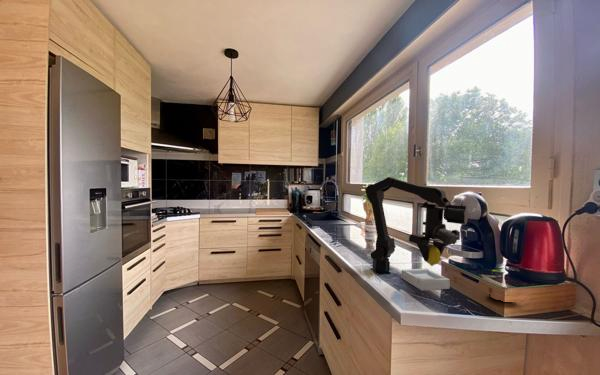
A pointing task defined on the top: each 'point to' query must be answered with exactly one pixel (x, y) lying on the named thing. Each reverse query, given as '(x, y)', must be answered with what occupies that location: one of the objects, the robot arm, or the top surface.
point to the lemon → (433, 256)
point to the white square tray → (425, 279)
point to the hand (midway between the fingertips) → (431, 260)
